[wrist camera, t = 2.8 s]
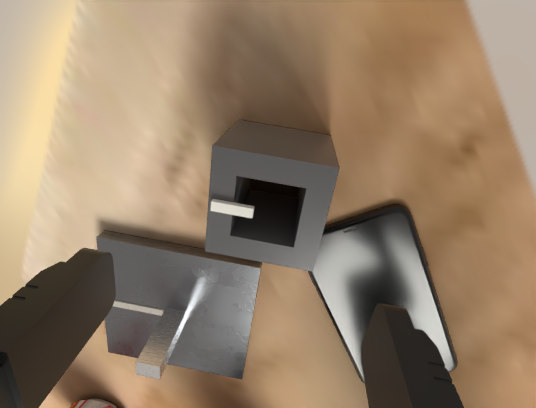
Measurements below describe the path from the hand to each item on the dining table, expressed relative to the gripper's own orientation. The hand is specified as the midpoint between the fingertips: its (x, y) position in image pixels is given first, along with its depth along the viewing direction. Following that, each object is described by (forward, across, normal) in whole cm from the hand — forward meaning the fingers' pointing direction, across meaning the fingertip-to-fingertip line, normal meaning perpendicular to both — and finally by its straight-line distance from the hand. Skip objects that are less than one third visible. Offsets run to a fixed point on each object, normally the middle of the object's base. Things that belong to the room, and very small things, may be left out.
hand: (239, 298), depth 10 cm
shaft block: (+12, +6, +13) cm, 19 cm away
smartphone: (+12, -10, +9) cm, 18 cm away
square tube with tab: (+12, 0, 0) cm, 12 cm away
